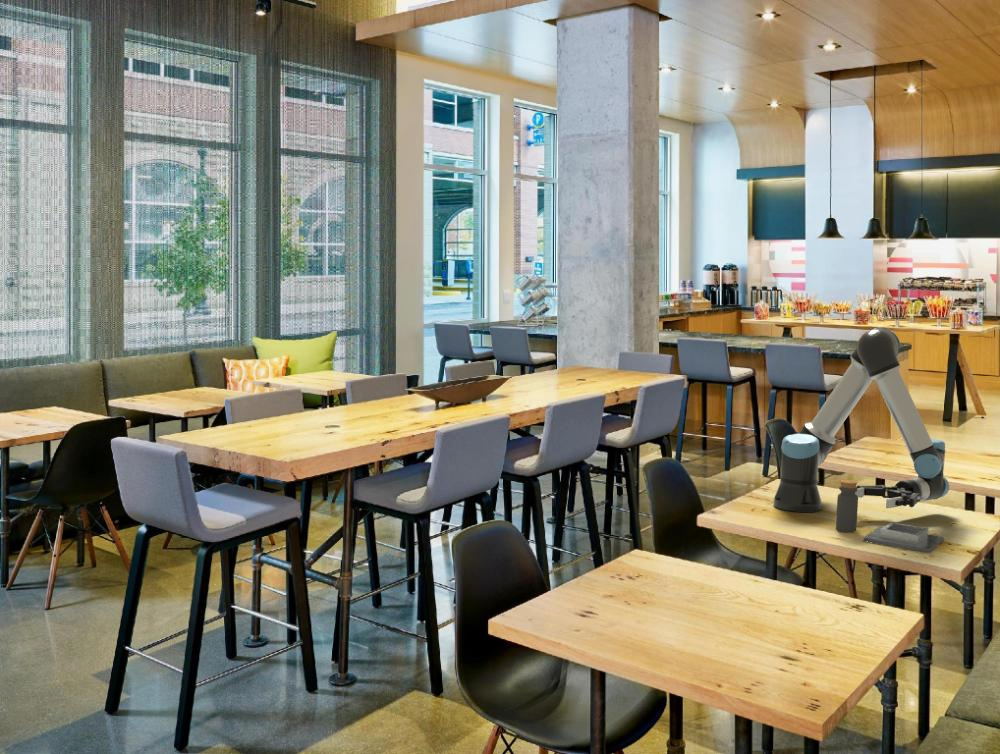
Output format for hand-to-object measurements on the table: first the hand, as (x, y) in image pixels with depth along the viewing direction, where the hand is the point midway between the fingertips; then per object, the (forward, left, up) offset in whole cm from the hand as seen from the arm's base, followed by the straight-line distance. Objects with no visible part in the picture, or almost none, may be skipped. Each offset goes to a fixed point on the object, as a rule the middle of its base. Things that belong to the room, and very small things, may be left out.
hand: (867, 499), depth 299 cm
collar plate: (+14, -10, -8) cm, 19 cm away
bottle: (-3, -9, -9) cm, 13 cm away
